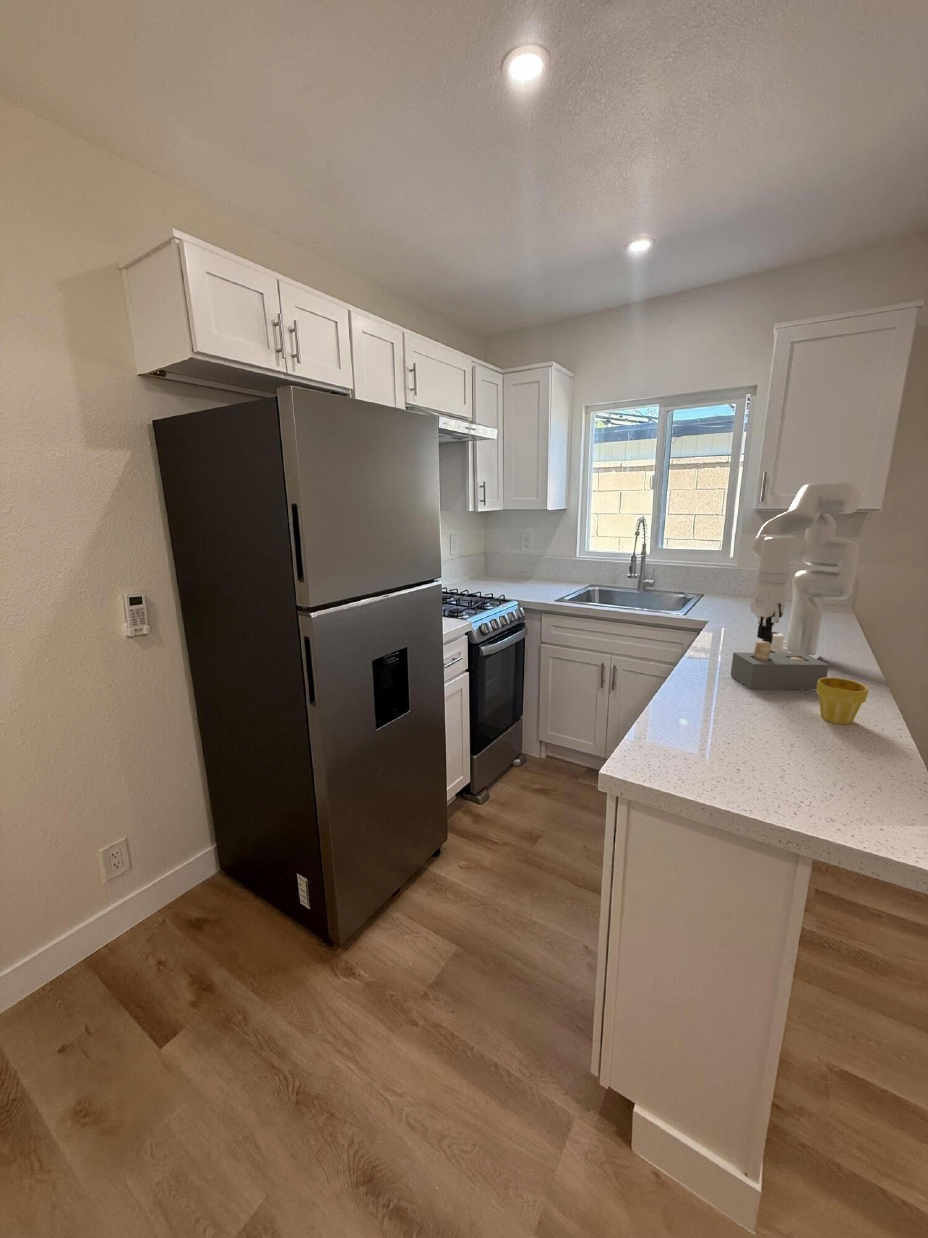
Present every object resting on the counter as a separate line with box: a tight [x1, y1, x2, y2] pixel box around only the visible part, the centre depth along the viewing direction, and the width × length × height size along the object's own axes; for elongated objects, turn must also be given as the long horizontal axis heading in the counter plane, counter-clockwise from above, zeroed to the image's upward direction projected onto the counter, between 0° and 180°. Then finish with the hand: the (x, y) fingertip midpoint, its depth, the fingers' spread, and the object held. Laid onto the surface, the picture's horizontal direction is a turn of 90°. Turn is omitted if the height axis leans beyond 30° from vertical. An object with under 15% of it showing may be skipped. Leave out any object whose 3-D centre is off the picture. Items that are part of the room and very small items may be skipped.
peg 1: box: [753, 640, 771, 661], centre depth 153 cm, size 4×4×7 cm
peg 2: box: [790, 657, 805, 661], centre depth 154 cm, size 4×4×7 cm
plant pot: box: [815, 676, 869, 725], centre depth 127 cm, size 10×10×10 cm
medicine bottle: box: [761, 631, 789, 653], centre depth 169 cm, size 7×7×12 cm
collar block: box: [730, 651, 830, 690], centre depth 154 cm, size 12×22×8 cm, turn 88°
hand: (763, 638), depth 152 cm, fingers closed
